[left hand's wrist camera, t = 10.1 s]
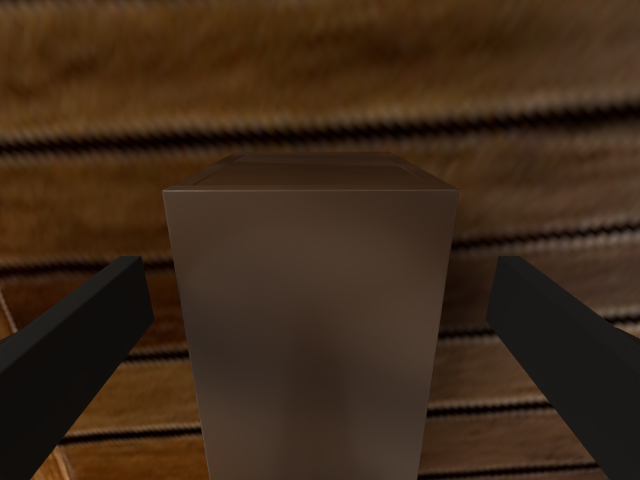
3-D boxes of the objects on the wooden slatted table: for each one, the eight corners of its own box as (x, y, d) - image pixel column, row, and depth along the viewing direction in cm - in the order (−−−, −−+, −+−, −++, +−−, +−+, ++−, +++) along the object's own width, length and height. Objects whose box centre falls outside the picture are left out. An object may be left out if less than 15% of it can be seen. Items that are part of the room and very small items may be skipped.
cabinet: (375, 358, 28) (412, 509, 17) (253, 359, 28) (214, 512, 17) (390, 151, 22) (460, 189, 12) (235, 152, 22) (161, 190, 11)
